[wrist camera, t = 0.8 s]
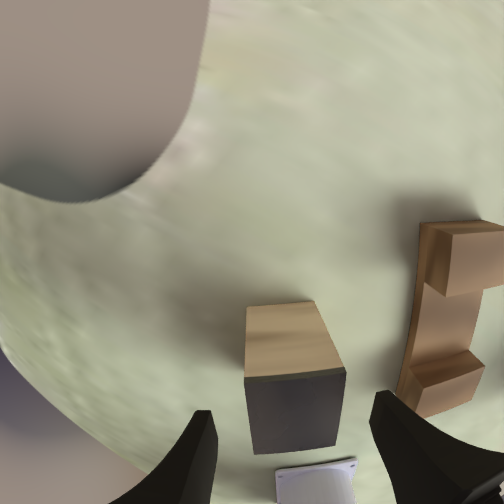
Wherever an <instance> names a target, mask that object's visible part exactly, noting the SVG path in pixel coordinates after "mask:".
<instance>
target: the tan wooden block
mask: <svg viewBox="0 0 504 504" xmlns="http://www.w3.org/2000/svg"><path fill="white" fill-rule="evenodd" d="M346 373H347V372H346V370H345V368H344V365H343V363H342V361H341V359H340V357H339V354H338V352H337V350H336V348H335V345H334V343H333V341H332V339H331V337H330V334H329V332H328V330H327V328H326V326H325V323H324V321H323V319H322V317H321V315H320V313H319V311H318V308H317V306H316V304H315V302H314V301H309V302H298V303H287V304H276V305H264V306H251V307H247V313H246V340H245V368H244V388H245V395H246V402H247V409H248V416H249V423H250V430H251V437H252V444H253V451H254V455H257V454H273V453H285V452H295V451H303V450H311V449H318V448H324V447H330V446H335V445H336V439H337V434H338V428H339V422H340V416H341V410H342V403H343V396H344V389H345V381H346Z"/></svg>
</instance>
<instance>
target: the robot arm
mask: <svg viewBox="0 0 504 504" xmlns="http://www.w3.org/2000/svg"><path fill="white" fill-rule="evenodd" d="M369 424H370V428H371V431H372V435H373V438H374V441H375V444H376V446H377V448H378V451H379V453H380V455H381V458H382V460H383V462H384V465H385V467H386V469H387V472H388V474H389V477H390V479H391V482H392V486H393V490H394V494H395V498H396V502H397V504H504V495H503V496H500V494H499V493H500V492H501V488H500V486H499V485H500V484H501V483H502V482H503V481H504V453H501V452H495V451H490V450H486V449H482V448H479V447H476V446H473V445H470V444H467V443H465V442H463V441H460V440H458V439H456V438H454V437H452V436H450V435H448V434H446V433H444V432H442V431H441V430H439V429H438V428H436V427H434V426H433V425H432V424H430V423H429V422H427V421H426V420H424V419H423V418H422V417H420V416H419V415H418V414H417V413H415V412H414V411H413V410H412V409H410V408H409V407H408V406H407V405H406V404H405V403H403V402H402V401H401V400H400V399H399V398H398V397H396V396H395V395H394V394H393V393H392V392H391V391H389V390H384V391H380V392H376V395H375V399H374V404H373V408H372V412H371V416H370V420H369ZM217 454H218V436H217V432H216V429H215V425H214V421H213V417H212V413H211V410H197V411H195V413H194V415H193V416H192V418H191V420H190V422H189V423H188V425H187V427H186V428H185V430H184V432H183V433H182V435H181V436H180V438H179V439H178V440H177V442H176V443H175V445H174V446H173V448H172V449H171V450H170V451H169V453H168V454H167V455H166V456H165V458H164V459H163V460H162V461H161V462H160V463H159V464H158V466H157V467H156V468H155V469H154V470H153V471H152V472H151V473H150V474H149V475H148V476H146V477H145V478H144V479H143V480H142V481H141V482H140V483H138V484H137V485H136V486H135V487H133V488H132V489H131V490H129V491H128V492H126V493H125V494H123V495H122V496H121V497H119V498H117V499H116V500H114V501H112V502H111V503H109V504H210V497H211V491H212V485H213V480H214V474H215V468H216V463H217ZM357 465H358V459H357V458H352V459H347V460H342V461H337V462H331V463H326V464H319V465H313V466H305V467H297V468H288V469H278V470H276V471H275V478H276V495H277V504H357V501H356V498H355V494H354V490H353V487H352V483H351V482H352V479H353V476H354V473H355V471H356V468H357Z"/></svg>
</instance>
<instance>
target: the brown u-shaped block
mask: <svg viewBox="0 0 504 504" xmlns="http://www.w3.org/2000/svg"><path fill="white" fill-rule="evenodd" d="M503 284H504V226H501V225H498V224H495V223H491V222H488V221H484V220H472V221H449V222H429V223H420V240H419V256H418V269H417V279H416V288H415V297H414V304H413V311H412V318H411V324H410V330H409V335H408V341H407V346H406V351H405V356H404V360H403V365H402V369H401V373H400V377H399V381H398V385H397V389H396V393H395V395H396V396H397V397H398V398H399V399H400V400H401V401H402V402H403V403H405V404H406V405H407V406H408V407H409V408H410V409H412V410H413V411H414V412H415V413H417V414H418V415H419V416H420V417H422V418H423V419H424V418H427V417H430V416H433V415H435V414H438V413H441V412H444V411H446V410H449V409H451V408H454V407H456V406H459V405H461V404H463V403H466V402H468V401H470V400H472V397H473V395H474V393H475V390H476V388H477V386H478V383H479V381H480V378H481V376H482V373H483V371H484V368H485V365H484V364H483V363H482V362H481V361H480V360H479V359H477V358H476V357H475V356H474V355H473V354H472V353H471V352H470V351H469V347H470V344H471V340H472V337H473V333H474V329H475V326H476V322H477V317H478V313H479V309H480V304H481V299H482V294H483V289H487V288H491V287H495V286H499V285H503Z"/></svg>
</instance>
